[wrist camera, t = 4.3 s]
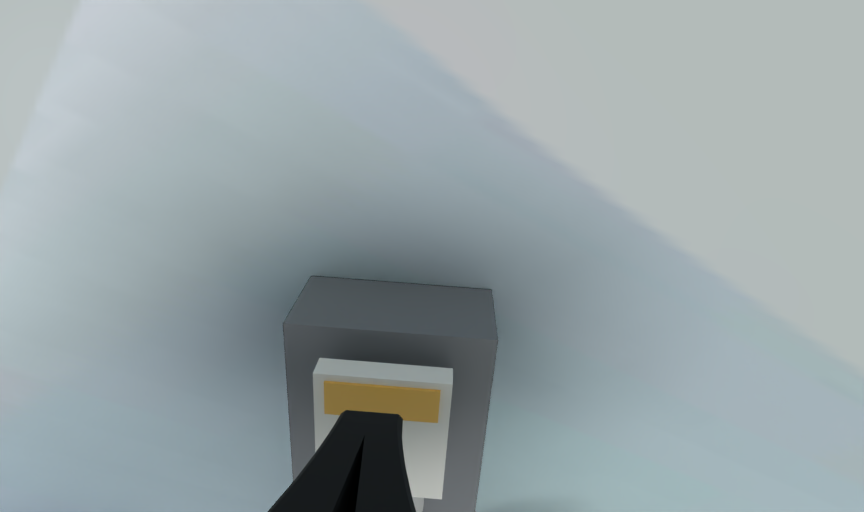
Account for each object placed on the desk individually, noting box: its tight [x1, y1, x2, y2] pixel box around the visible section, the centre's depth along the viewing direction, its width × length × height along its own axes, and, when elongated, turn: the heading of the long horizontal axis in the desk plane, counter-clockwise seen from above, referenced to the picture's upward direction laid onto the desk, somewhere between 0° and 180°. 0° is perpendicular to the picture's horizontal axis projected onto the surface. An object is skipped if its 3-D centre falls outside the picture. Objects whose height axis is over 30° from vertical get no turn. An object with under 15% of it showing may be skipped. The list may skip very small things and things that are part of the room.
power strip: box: [283, 276, 498, 512], centre depth 19 cm, size 15×6×3 cm, turn 176°
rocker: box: [313, 358, 453, 499], centre depth 15 cm, size 4×4×1 cm
